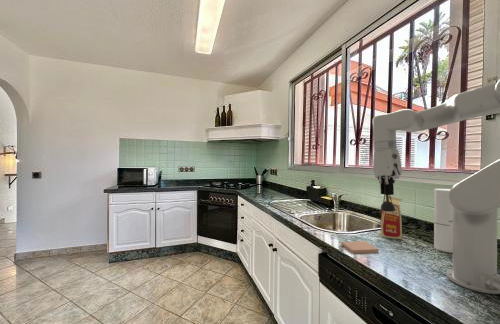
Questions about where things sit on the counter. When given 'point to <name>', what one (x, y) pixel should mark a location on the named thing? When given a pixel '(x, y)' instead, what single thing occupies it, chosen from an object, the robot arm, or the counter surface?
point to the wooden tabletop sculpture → (387, 202)
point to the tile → (359, 247)
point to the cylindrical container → (443, 221)
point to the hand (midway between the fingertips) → (387, 194)
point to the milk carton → (392, 221)
